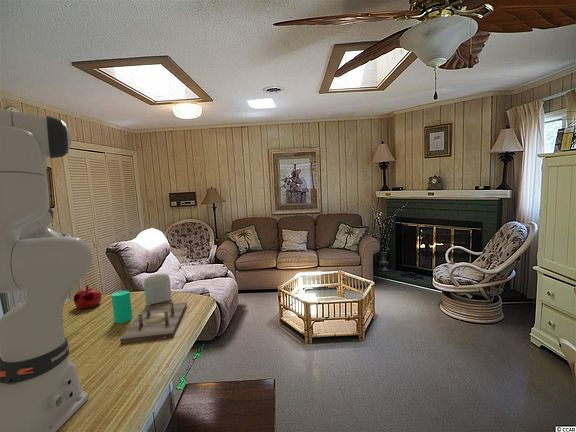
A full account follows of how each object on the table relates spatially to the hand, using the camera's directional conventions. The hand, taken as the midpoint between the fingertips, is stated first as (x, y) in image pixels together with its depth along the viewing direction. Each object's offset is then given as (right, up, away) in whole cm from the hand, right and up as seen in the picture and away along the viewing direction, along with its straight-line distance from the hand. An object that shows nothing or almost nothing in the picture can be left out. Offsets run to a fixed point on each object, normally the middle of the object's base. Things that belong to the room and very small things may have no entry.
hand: (81, 268), depth 109 cm
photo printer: (+20, -18, +20) cm, 33 cm away
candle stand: (+28, -20, 0) cm, 34 cm away
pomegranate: (-10, -20, +19) cm, 30 cm away
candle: (+13, -20, +4) cm, 25 cm away
